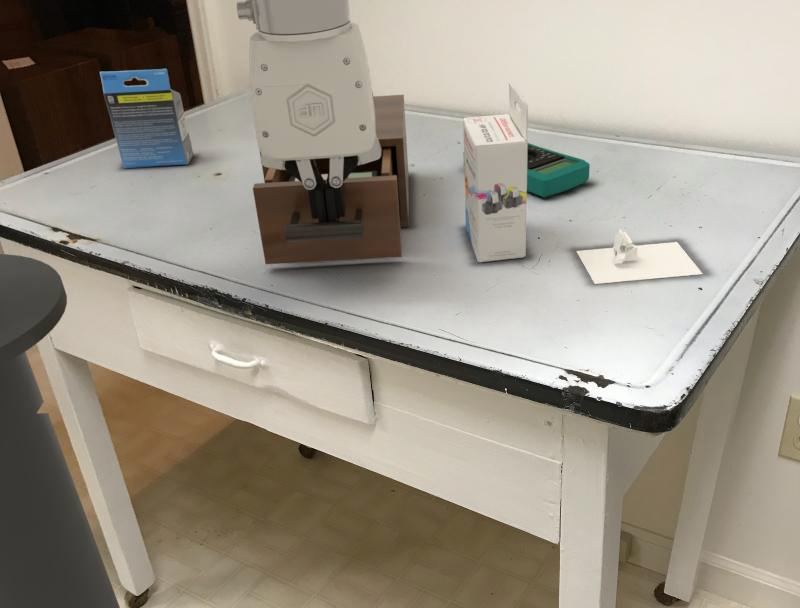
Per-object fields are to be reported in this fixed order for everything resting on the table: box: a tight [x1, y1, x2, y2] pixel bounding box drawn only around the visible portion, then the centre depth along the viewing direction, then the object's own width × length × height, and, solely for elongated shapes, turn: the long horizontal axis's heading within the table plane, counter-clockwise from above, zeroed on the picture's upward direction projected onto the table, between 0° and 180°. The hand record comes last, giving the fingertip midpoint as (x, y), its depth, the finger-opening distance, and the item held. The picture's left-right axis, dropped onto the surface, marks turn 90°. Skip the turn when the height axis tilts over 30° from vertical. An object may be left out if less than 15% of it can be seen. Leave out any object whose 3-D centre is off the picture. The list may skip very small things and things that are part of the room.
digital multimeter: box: [463, 142, 591, 199], centre depth 100 cm, size 7×15×3 cm, turn 36°
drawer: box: [252, 146, 403, 265], centre depth 85 cm, size 19×13×8 cm
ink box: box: [462, 81, 529, 263], centre depth 82 cm, size 8×5×15 cm, turn 5°
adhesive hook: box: [611, 228, 638, 265], centre depth 80 cm, size 3×3×3 cm
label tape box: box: [99, 68, 194, 169], centre depth 110 cm, size 9×4×12 cm, turn 88°
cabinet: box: [259, 94, 410, 228], centre depth 95 cm, size 16×15×10 cm
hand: (330, 224), depth 79 cm, fingers closed
